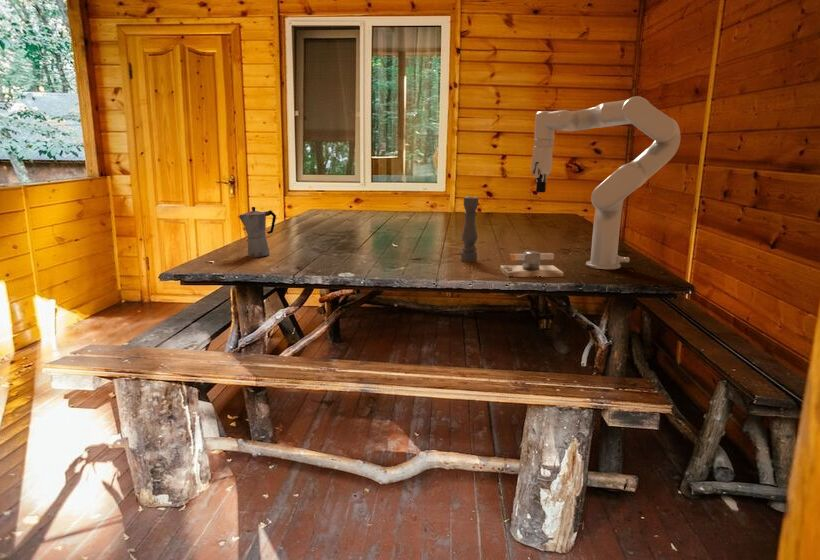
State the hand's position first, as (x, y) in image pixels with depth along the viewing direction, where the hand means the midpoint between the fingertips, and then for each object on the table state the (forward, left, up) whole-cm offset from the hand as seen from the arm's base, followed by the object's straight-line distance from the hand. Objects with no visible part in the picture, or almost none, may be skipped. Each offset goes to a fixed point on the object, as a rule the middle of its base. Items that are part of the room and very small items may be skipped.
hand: (540, 192), depth 222 cm
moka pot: (+113, -9, -27) cm, 117 cm away
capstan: (+9, +25, -25) cm, 37 cm away
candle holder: (+28, +2, -27) cm, 39 cm away
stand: (+9, +25, -27) cm, 38 cm away
